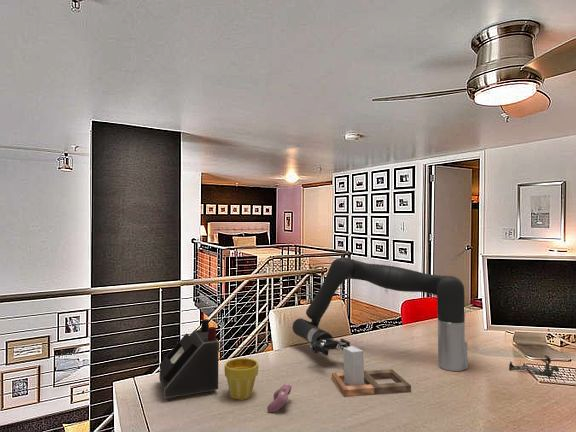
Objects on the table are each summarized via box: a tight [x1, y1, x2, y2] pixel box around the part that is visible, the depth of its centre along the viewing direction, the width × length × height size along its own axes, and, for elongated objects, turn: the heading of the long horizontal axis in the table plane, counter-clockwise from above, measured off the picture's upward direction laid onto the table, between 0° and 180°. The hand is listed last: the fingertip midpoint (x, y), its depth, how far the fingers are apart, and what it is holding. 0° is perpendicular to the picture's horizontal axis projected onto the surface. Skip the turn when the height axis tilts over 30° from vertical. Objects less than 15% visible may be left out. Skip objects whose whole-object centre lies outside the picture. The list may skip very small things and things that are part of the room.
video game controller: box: [266, 383, 293, 413], centre depth 114 cm, size 10×5×7 cm, turn 170°
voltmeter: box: [158, 319, 220, 401], centre depth 126 cm, size 16×16×20 cm
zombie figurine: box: [508, 355, 560, 377], centre depth 140 cm, size 5×7×15 cm
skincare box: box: [342, 345, 365, 386], centre depth 128 cm, size 6×4×12 cm
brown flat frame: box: [331, 369, 412, 397], centre depth 129 cm, size 22×14×2 cm, turn 99°
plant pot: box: [224, 357, 259, 401], centre depth 121 cm, size 10×10×10 cm
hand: (338, 351), depth 138 cm, fingers open, 8 cm apart
